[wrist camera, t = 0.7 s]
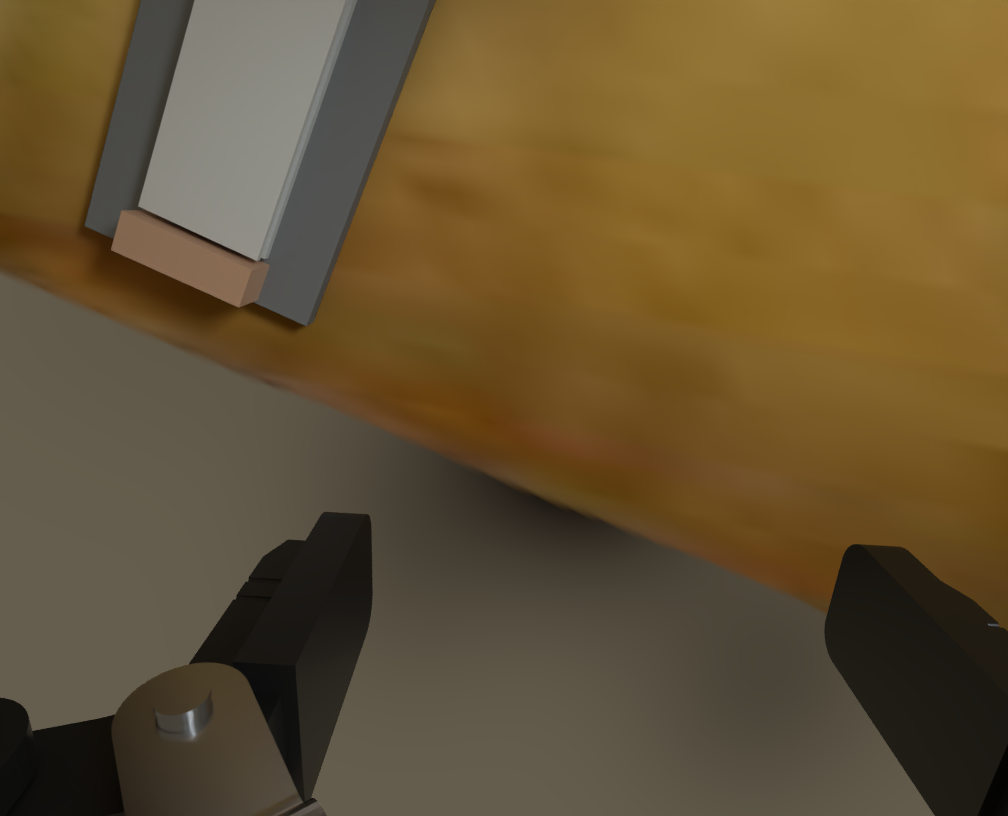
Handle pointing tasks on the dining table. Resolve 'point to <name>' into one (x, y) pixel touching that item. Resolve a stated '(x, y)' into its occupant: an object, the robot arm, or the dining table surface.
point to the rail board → (325, 156)
